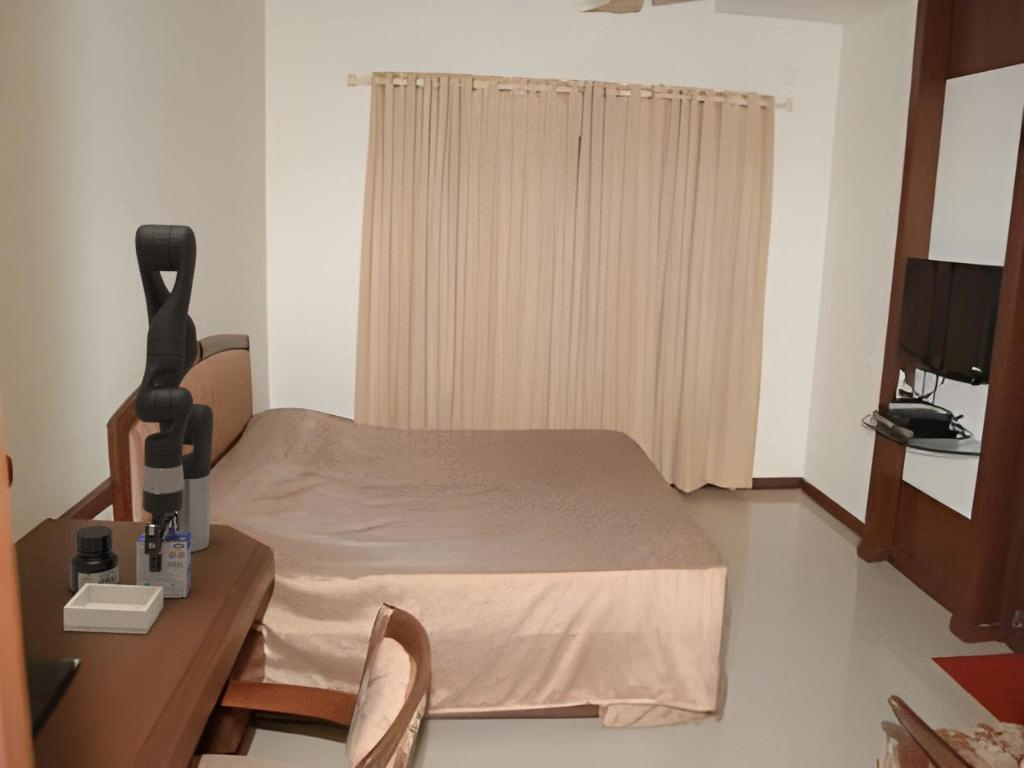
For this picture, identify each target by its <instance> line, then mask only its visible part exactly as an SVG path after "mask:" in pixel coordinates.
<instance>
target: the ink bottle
mask: <svg viewBox="0 0 1024 768" xmlns="http://www.w3.org/2000/svg"><path fill="white" fill-rule="evenodd" d="M113 531H114V530H112V528H111V527H109V526H105V525H91V526H90V525H89V526H86V527H82V528H79V529H77V530H76V531H75V533H74V541H75V542H74V544H75V551H76V552H75V553H73V555H71V556H70V560H69V585H70V590H71V591H72V592H73V593H74V594H76V593H77V592H78V591H79V590H80V589H81V588H82V587H83V586H84V585H85V584H86V583H94V584H116V585H119V581H120V579H119V577H120V576H119V555H118V553H117V552H116V551H115V550H113V542H114V538H113V536H114V535H113Z"/></svg>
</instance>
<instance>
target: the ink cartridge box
mask: <svg viewBox="0 0 1024 768" xmlns="http://www.w3.org/2000/svg"><path fill="white" fill-rule="evenodd" d="M174 525H175V524H174ZM174 529H175V528H174V526H172V525H171V530H170V531H169V533H168V538H167V542H166V543H165V544H164V545H163V549H162V570H161V571H160V572H150V571H149V554H145V552H144V550H145V532H141V534H140V535H139V537H138V539H137V540H136V546H135V547H136V550H135V551H136V553H135V554H136V562H135V564H136V567H135V568H136V569H135V570H136V576H135V577H136V585H137V586H159V587H163V599H165V598H166V599H167V598H168V599H169V598H170V599H174V598H175V599H179V598H180V599H181V597H183V598H184V599H185V598H187V597H188V595H189V593H190V590H191V570H192V569H191V568H192V563H191V562H192V561H191V560H192V559H191V556H192V552H191V533H190V532H174ZM160 538H162V537H160ZM153 548H155V543H154V544H153Z"/></svg>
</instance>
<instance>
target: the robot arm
mask: <svg viewBox="0 0 1024 768" xmlns="http://www.w3.org/2000/svg"><path fill="white" fill-rule="evenodd" d="M134 237H135V240H134V241H135V242H134V245H135V248H134V249H135V255H136V259H137V265H138V271H139V273H140V277H141V278H140V279H141V283H142V288H143V292H144V297H145V303H146V311H147V321H148V330H147V334H146V335H147V337H146V352H145V353H146V355H145V356H146V358H145V368H144V373H143V377H142V380H141V383H140V386H139V388H138V391H137V394H136V397H135V401H134V406H133V410H134V413H135V416H136V418H137V419H138V420H139V421H141V422H143V423H149V424H150V423H151V424H152V423H158V426H159V427H158V429H159V432H154V433H151V434H148V435H147V436H146V438H145V440H144V446H143V447H144V448H143V449H144V451H143V452H144V453H143V454H144V456H143V457H144V459H143V461H144V462H143V463H144V465H143V472H142V509H143V511H144V512H146V513H150V514H151V519H150V520H149V523H148V524H147V523H146V524H145V526H144V533H145V550H144V552H145V554H149V571H150V572H160V571H161V570H162V549H163V545H164V544H165V543H166V542H167V538H168V533H169V531H170V530H171V525H172V526H174V528H175V529H174V532H190V533H191V553H192V552H198V551H202V550H205V549H206V548H207V547H209V546H210V523H211V521H210V519H211V518H210V517H211V516H210V514H211V509H210V508H211V507H210V506H211V463H212V447H213V446H212V444H213V434H214V433H213V431H214V414H213V410H212V408H211V407H210V406H209V405H207V404H200V403H194V398H193V395H192V393H191V391H190V390H189V389H188V388H186V387H184V386H180V385H181V383H182V382H183V380H184V379H185V377H186V376H187V375H188V373H189V371H191V369H192V367H193V366H194V365H195V362H196V360H197V357H198V355H199V353H198V352H199V346H198V338H197V328H196V324H195V323H194V320H193V318H192V317H191V315H190V314H189V308H190V303H191V296H192V292H193V291H192V290H193V284H194V278H195V272H196V271H195V270H196V265H197V264H196V263H197V239H196V236H195V232H194V231H193V228H191V226H188V225H183V224H156V223H155V224H152V223H151V224H141V225H139V227H138V228H137V229H136V232H135V236H134ZM161 272H175V273H176V275H175V276H176V277H175V281H174V284H173V287H172V289H171V291H169V289H168V287H167V286H166V284H165V281H164V279H163V276H162V273H161ZM183 445H185V446H193V448H192V451H191V452H188V453H186V454H183V449H184V448H183V447H184V446H183ZM174 524H175V525H174ZM160 537H162V538H160ZM154 543H155V548H153V544H154Z"/></svg>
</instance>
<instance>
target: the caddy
mask: <svg viewBox="0 0 1024 768" xmlns="http://www.w3.org/2000/svg"><path fill="white" fill-rule="evenodd" d="M162 608H163V609H164V598H163V587H159V586H137V585H135V584H134V585H133V584H118V585H116V584H94V583H86V584H85V585H84V586H83V587H82V588H81V589H80V590H79V591H78V592H77V593H75V594H74V596H73V597H72V598H70V600H69V601H67V603H66V605H65V606H64V607H63V631H64V632H65V631H66V632H67V631H68V632H70V631H71V632H92V633H115V634H116V633H117V634H118V633H119V634H142V635H143V634H144V635H146V634H147V633H148V632H149V630H150V629H151V627H152V626H153V624H154V622H155V621H156V619H157V618H158V617H159V615H160V614H159V613H161V612H162V611H163V609H162ZM161 610H162V611H161ZM160 611H161V612H160Z"/></svg>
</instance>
